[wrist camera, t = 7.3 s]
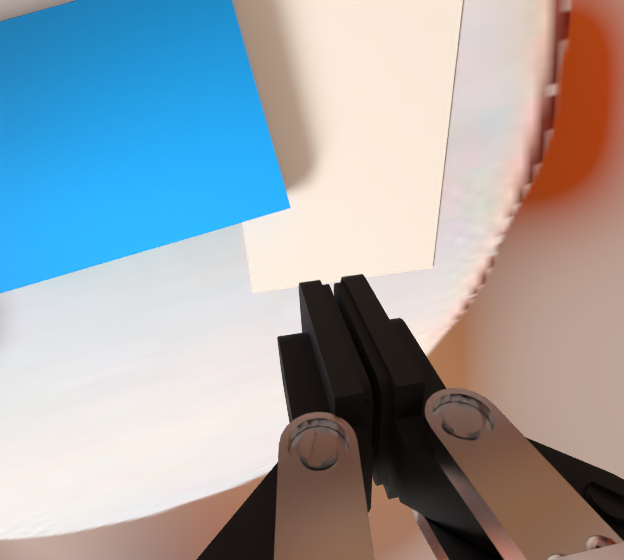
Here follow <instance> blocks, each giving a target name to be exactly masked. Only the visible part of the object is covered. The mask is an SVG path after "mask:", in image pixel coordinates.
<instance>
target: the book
mask: <svg viewBox="0 0 624 560" xmlns="http://www.w3.org/2000/svg"><path fill="white" fill-rule="evenodd" d="M289 208H291V207H290V203H289V200H288V196H287V193H286V189H285V186H284V182H283V179H282V175H281V172H280V168H279V165H278V161H277V158H276V154H275V150H274V147H273V143H272V140H271V136H270V133H269V129H268V126H267V122H266V119H265V115H264V112H263V108H262V105H261V101H260V98H259V94H258V91H257V87H256V84H255V80H254V77H253V73H252V70H251V66H250V63H249V59H248V56H247V52H246V48H245V45H244V41H243V38H242V34H241V31H240V27H239V24H238V20H237V17H236V13H235V10H234V6H233V3H232V0H76V1H73V2H69V3H65V4H62V5H58V6H55V7H51V8H47V9H44V10H40V11H37V12H33V13H30V14H26V15H22V16H19V17H15V18H12V19H8V20H4V21H1V22H0V293H3V292H6V291H10V290H13V289H16V288H20V287H23V286H27V285H30V284H34V283H37V282H40V281H44V280H47V279H51V278H54V277H57V276H61V275H64V274H68V273H71V272H74V271H78V270H81V269H85V268H88V267H91V266H95V265H98V264H102V263H105V262H109V261H112V260H115V259H119V258H122V257H126V256H129V255H132V254H136V253H139V252H143V251H146V250H149V249H153V248H156V247H160V246H163V245H167V244H170V243H173V242H177V241H180V240H184V239H187V238H190V237H194V236H197V235H201V234H204V233H207V232H211V231H214V230H218V229H221V228H224V227H228V226H231V225H235V224H238V223H242V222H245V221H248V220H252V219H255V218H259V217H262V216H265V215H269V214H272V213H276V212H279V211H282V210H286V209H289Z"/></svg>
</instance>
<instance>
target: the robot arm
mask: <svg viewBox="0 0 624 560" xmlns="http://www.w3.org/2000/svg"><path fill="white" fill-rule="evenodd" d="M299 297H300V310H301V323H302V333H298V334H292V335H285V336H279V337H277V339H278V348H279V356H280V365H281V372H282V379H283V386H284V392H285V398H286V404H287V410H288V416H289V422H290V424H288V425H287V426H286V428H285V430H284V431H283V433H282V434H281V438H280V442H279V453H278V463H277V464H276V465H275V466H274V467H273V469H272V470H271V471H270V472H269V473H268V475H267V476H266V477H265V478H264V480H263V481H262V482H261V483H260V484H259V485H258V487H257V488H256V489H255V490H254V491H253V493H252V494H251V495H250V496H249V498H248V499H247V500H246V501H245V502H244V503H243V505H242V506H241V507H240V508H239V509H238V511H237V512H236V513H235V514H234V515H233V517H232V518H231V519H230V520H229V521H228V523H227V524H226V525H225V526H224V527H223V529H222V530H221V531H220V532H219V533H218V535H217V536H216V537H215V538H214V539H213V541H212V542H211V543H210V544H209V545H208V547H207V548H206V549H205V550H204V551H203V553H202V554H201V555H200V556H199V557H198V559H197V560H375V558H374V551H373V544H372V537H371V530H370V524H369V517H368V512H369V511H370V509H371V491H372V490H371V489H372V477H373V480H374V482H375V484H376V485H377V486H378V485H382V484H383V485H384V488H385V491H386V494H387V497H388V499H392V498H396V497H399V500H400V502H401V503H403V504H405V505H407V506H408V507H410V508H412V509H413V514H414V517H415V520H416V522H417V524H418V526H419V528H420V530H421V531H422V533H423V535H424V537H425V539H426V540H427V542H428V544H429V546H430V548H431V549H432V551H433V553H434V555H435V557H436V558H437V560H624V479H622V478H620V477H618V476H616V475H614V474H612V473H610V472H607V471H605V470H603V469H600V468H598V467H595V466H593V465H590V464H588V463H586V462H583V461H581V460H579V459H576V458H573V457H571V456H569V455H567V454H564V453H562V452H559V451H557V450H555V449H552V448H550V447H547V446H545V445H543V444H540V443H538V442H535V441H533V440H530V439H528V438H526V437H524V436H523V434H522V433H521V432H520V431H519V430H518V429H517V428H516V427H515V426H514V425H513V424H512V423H511V422H510V421H509V420H508V419H507V418H506V416H505V415H504V414H503V413H502V412H501V411H500V410H499V409H498V408H497V407H496V406H495V405H494V404H493V403H492V402H490V401H489V400H488V399H487V398H486V397H484V396H482V395H480V394H478V393H476V392H473V391H470V390H466V389H461V388H448V389H446V387H445V386H444V384H443V382H442V381H441V379H440V378H439V376H438V375H437V373H436V371H435V370H434V368H433V366H432V365H431V363H430V362H429V360H428V358H427V357H426V355H425V354H424V352H423V350H422V349H421V347H420V346H419V344H418V342H417V341H416V339H415V338H414V336H413V334H412V333H411V331H410V330H409V328H408V327H407V325H406V323H405V322H404V321H403V320H402V319H401V318H397V319H389V318H388V316H387V314H386V313H385V311H384V309H383V307H382V306H381V304H380V302H379V300H378V299H377V297H376V295H375V294H374V292H373V290H372V288H371V287H370V285H369V283H368V281H367V280H366V278H365V276H364V275H363V274H359V275H351V276H344V277H341V283H335V284H334V295H333V293H332V290H331V288H330V286H329V284H326V285H322V283H321V281H320V280H315V281H307V282H300V283H299Z"/></svg>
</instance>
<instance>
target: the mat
mask: <svg viewBox="0 0 624 560" xmlns="http://www.w3.org/2000/svg"><path fill="white" fill-rule="evenodd" d="M232 3H233V6H234V10H235V13H236V17H237V20H238V24H239V27H240V31H241V34H242V38H243V41H244V45H245V48H246V52H247V56H248V59H249V63H250V66H251V70H252V73H253V77H254V80H255V84H256V87H257V91H258V94H259V98H260V101H261V105H262V108H263V112H264V115H265V119H266V122H267V126H268V129H269V133H270V136H271V140H272V143H273V147H274V150H275V154H276V158H277V161H278V165H279V168H280V172H281V175H282V179H283V182H284V186H285V189H286V193H287V196H288V200H289V203H290V207H291V208H289V209H286V210H282V211H279V212H276V213H272V214H269V215H265V216H262V217H259V218H255V219H252V220H248V221H245V222H242V225H243V232H244V239H245V245H246V252H247V259H248V266H249V272H250V279H251V286H252V293H257V292H264V291H271V290H279V289H286V288H293V287H299V283H300V282H307V281H315V280H320V281H321V283H329V282H336V281H341V277H344V276H351V275H359V274H363V275H364V276H365V277H372V276H379V275H387V274H394V273H401V272H408V271H415V270H423V269H430V268H433V259H434V250H435V242H436V233H437V224H438V215H439V206H440V198H441V189H442V180H443V171H444V162H445V154H446V145H447V136H448V127H449V119H450V110H451V101H452V92H453V83H454V75H455V66H456V57H457V48H458V39H459V31H460V22H461V13H462V4H463V0H232Z"/></svg>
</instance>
